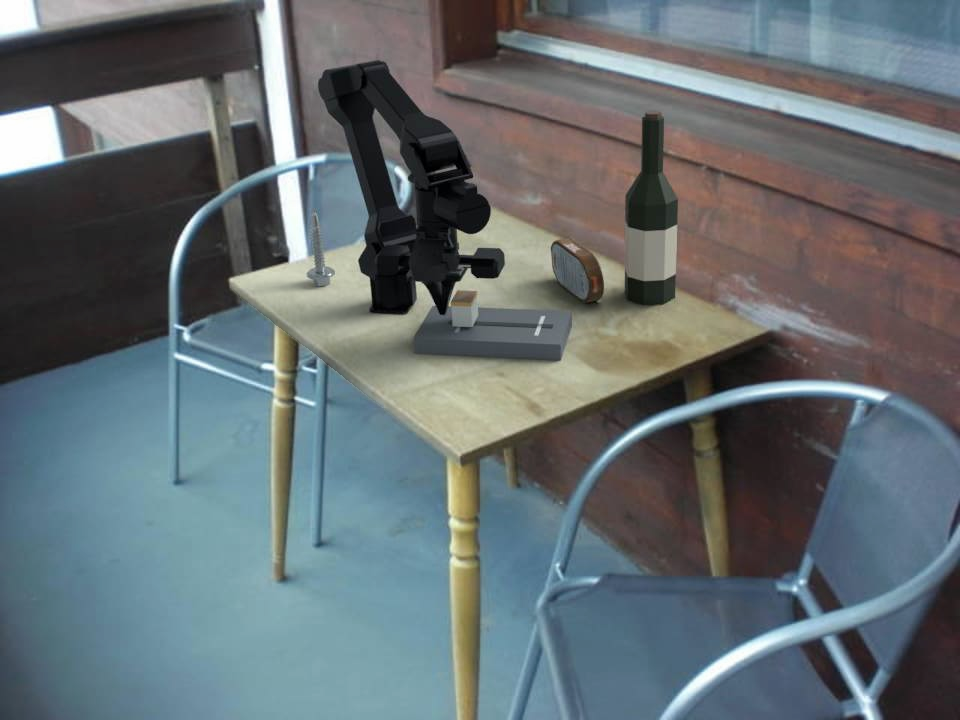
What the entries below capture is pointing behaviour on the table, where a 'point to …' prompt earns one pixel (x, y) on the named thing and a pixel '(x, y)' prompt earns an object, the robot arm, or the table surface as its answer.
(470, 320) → the fader
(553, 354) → the fader board
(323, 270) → the screw
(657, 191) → the wine bottle
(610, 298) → the table surface
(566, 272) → the tin
